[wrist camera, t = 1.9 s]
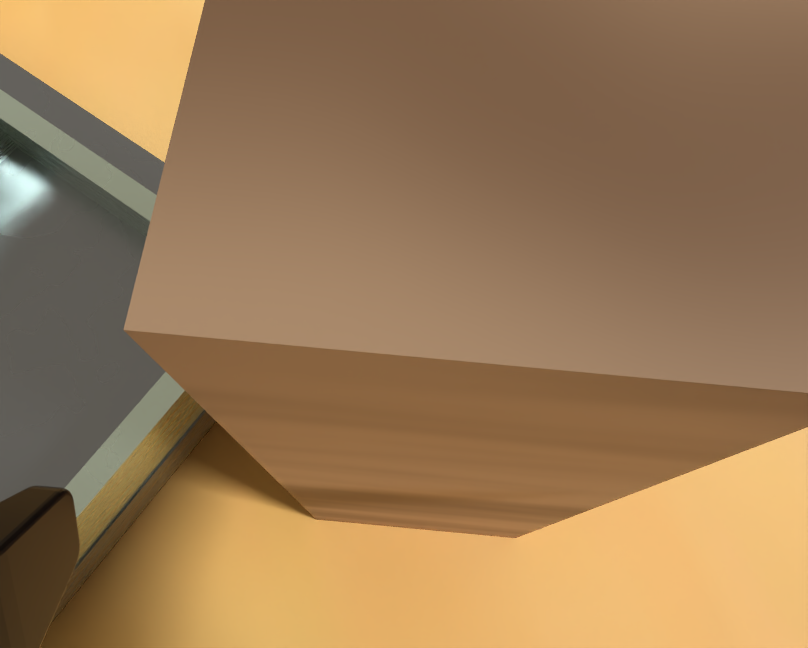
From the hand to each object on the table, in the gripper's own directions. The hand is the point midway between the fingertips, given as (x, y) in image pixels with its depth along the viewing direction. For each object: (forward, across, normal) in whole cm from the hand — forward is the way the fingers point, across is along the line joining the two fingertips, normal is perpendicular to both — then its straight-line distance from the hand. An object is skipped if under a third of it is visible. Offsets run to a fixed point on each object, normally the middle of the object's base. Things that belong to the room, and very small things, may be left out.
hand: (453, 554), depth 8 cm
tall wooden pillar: (+11, 0, +5) cm, 12 cm away
